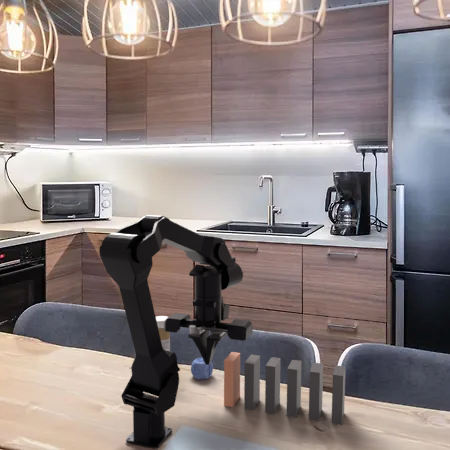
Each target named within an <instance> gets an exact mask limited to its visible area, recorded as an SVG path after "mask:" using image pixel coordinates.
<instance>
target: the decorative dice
mask: <svg viewBox="0 0 450 450" xmlns="http://www.w3.org/2000/svg"><path fill="white" fill-rule="evenodd" d="M213 371H214V364H213V362H212V361H211V363H210V364H209V365H206V364H205V362H204V360H203V358H202V357H198V358H195V359H194V360H193V361H192V362H191V366H190V372H191V375H192V376H193V378H195V379H196V380H202V381H203V380H208V379H209V378H211V376H212V374H213V373H214V372H213Z"/></svg>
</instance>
